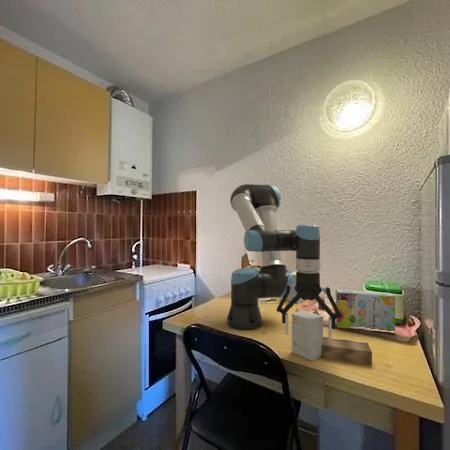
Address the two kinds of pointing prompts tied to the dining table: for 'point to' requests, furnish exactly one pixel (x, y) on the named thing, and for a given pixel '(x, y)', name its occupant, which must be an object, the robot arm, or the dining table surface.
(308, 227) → the robot arm
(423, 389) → the dining table surface
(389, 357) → the dining table surface
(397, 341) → the dining table surface
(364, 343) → the walnut step
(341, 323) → the snack box
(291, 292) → the skincare box
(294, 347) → the small box
